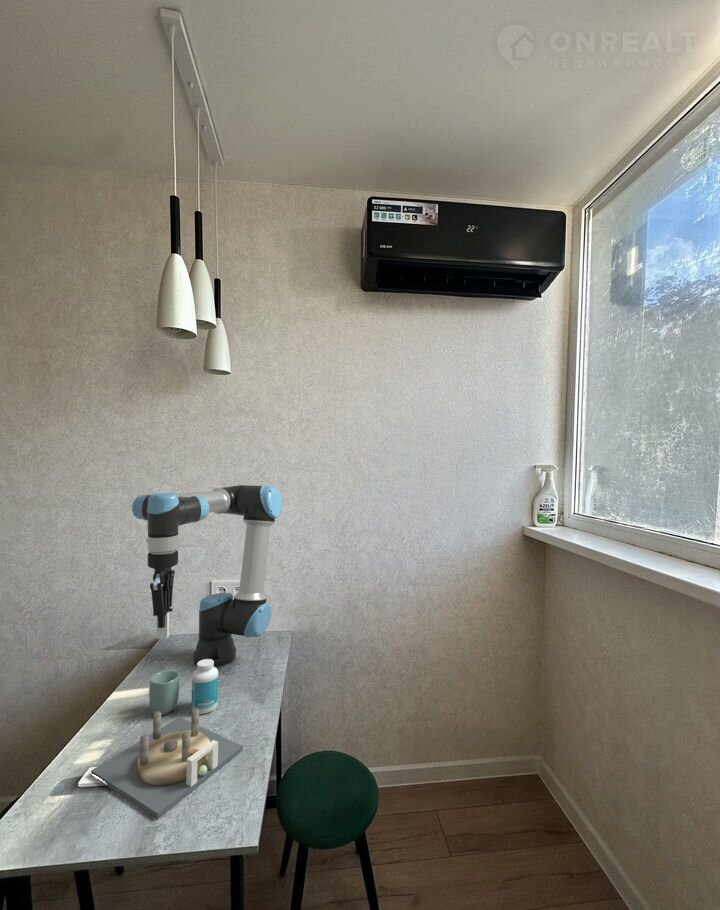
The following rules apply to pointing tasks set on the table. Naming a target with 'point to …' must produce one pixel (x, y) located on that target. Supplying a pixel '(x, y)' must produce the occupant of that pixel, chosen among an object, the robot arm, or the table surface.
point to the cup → (164, 691)
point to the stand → (164, 797)
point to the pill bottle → (205, 687)
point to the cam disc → (170, 752)
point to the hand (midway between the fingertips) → (162, 637)
